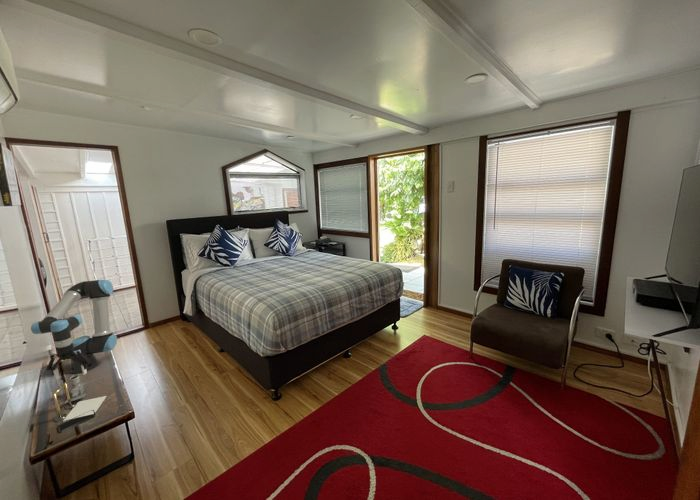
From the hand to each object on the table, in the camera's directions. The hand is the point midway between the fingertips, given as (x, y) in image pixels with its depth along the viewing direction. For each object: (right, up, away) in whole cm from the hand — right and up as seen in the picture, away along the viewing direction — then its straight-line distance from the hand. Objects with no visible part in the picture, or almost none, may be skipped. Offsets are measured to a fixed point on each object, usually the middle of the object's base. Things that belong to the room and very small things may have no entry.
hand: (71, 376), depth 175 cm
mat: (+16, -16, -7) cm, 24 cm away
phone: (+20, -19, -16) cm, 32 cm away
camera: (0, -15, +3) cm, 15 cm away
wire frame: (+6, -17, -9) cm, 20 cm away
